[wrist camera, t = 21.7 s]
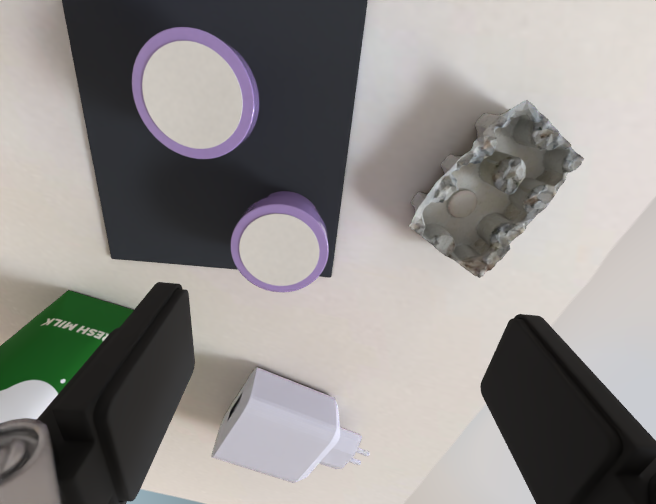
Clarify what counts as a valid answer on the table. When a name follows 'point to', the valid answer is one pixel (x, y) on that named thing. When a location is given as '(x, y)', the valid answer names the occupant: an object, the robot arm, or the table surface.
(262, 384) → the charger
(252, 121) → the dish middle
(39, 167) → the table surface
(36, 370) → the milk carton
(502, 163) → the egg carton
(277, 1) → the placemat
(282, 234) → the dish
